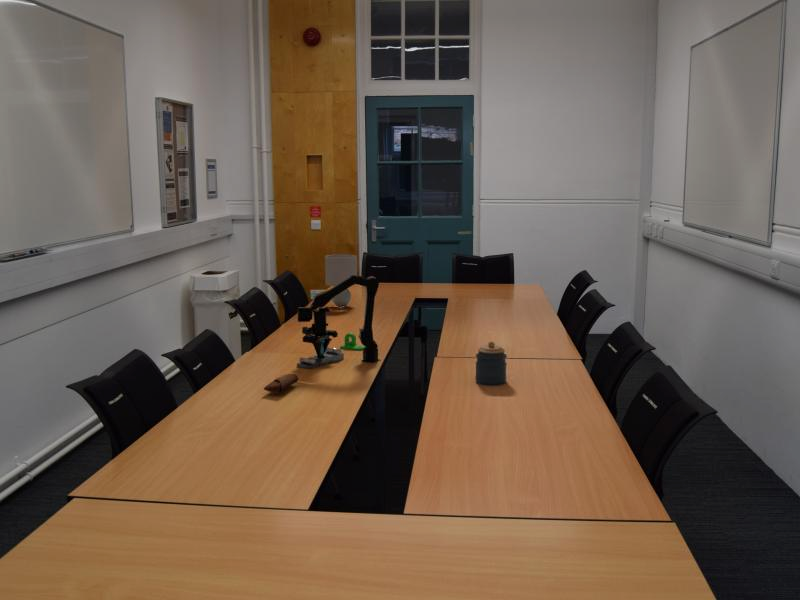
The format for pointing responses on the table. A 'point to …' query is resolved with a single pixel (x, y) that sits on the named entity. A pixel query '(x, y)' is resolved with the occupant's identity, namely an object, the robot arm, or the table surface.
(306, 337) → the robot arm
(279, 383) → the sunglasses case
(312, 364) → the lower chain end
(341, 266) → the lamp
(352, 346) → the mechanical part
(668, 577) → the table surface
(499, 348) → the canister
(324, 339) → the pin
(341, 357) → the plate
